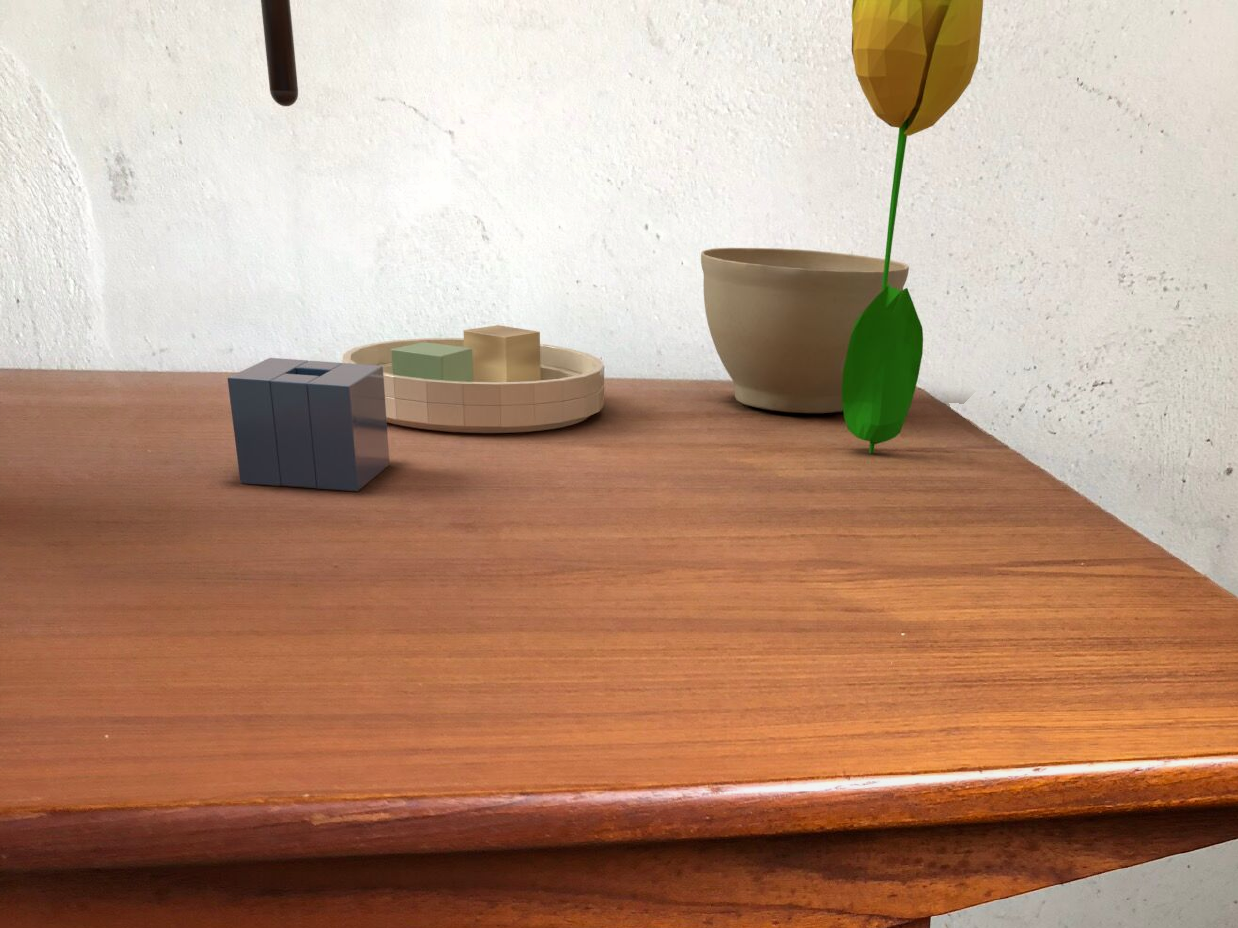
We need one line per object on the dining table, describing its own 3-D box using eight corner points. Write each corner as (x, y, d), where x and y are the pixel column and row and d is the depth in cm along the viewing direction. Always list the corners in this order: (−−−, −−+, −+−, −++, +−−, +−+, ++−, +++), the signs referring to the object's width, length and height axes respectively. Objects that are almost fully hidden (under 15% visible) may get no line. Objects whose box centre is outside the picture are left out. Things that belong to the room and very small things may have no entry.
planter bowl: (928, 423, 112) (947, 271, 106) (741, 429, 106) (750, 269, 101) (838, 384, 124) (851, 246, 119) (666, 387, 119) (671, 243, 113)
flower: (805, 438, 105) (845, -59, 89) (912, 441, 106) (970, -50, 90) (826, 465, 97) (874, -70, 82) (940, 468, 98) (1009, -60, 83)
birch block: (465, 387, 111) (463, 330, 109) (499, 381, 114) (498, 325, 112) (507, 395, 109) (505, 337, 107) (540, 388, 112) (540, 331, 110)
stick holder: (240, 483, 85) (227, 377, 82) (280, 456, 91) (269, 357, 88) (357, 491, 85) (349, 386, 82) (389, 464, 91) (383, 365, 88)
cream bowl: (312, 425, 100) (307, 372, 98) (386, 377, 116) (383, 331, 114) (582, 444, 99) (582, 391, 97) (618, 393, 115) (618, 347, 114)
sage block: (394, 411, 102) (390, 349, 100) (425, 402, 106) (422, 341, 103) (444, 418, 101) (441, 355, 99) (474, 409, 104) (472, 348, 102)
